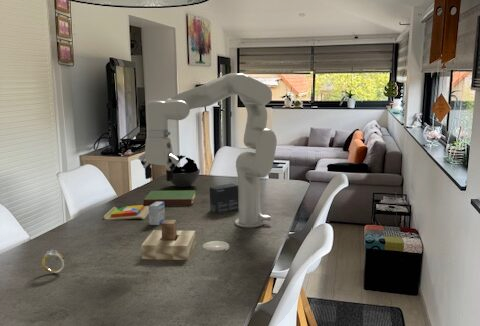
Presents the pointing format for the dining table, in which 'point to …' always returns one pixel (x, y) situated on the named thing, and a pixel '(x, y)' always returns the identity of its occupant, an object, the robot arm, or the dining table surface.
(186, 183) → the bowl of black rocks
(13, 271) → the dining table surface
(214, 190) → the small box
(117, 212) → the wooden puzzle
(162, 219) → the medicine box
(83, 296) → the dining table surface
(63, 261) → the bracelet
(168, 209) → the dining table surface
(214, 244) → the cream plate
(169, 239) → the walnut peg
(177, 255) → the birch pocket block
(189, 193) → the hardcover book
